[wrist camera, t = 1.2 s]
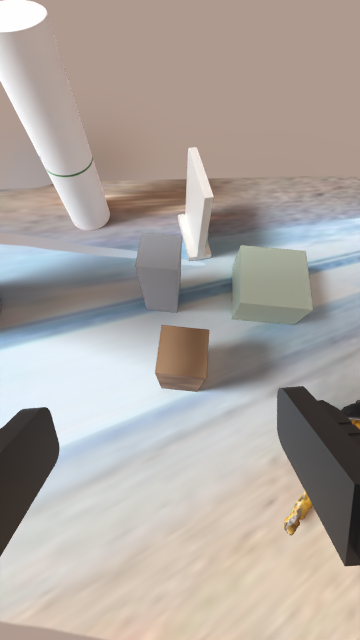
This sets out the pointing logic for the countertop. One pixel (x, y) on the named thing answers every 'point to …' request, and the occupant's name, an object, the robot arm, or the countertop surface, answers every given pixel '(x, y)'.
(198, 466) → the countertop surface
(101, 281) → the countertop surface
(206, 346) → the walnut block
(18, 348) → the countertop surface
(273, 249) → the sage base block
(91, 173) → the cylindrical container
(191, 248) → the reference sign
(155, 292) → the slate block
